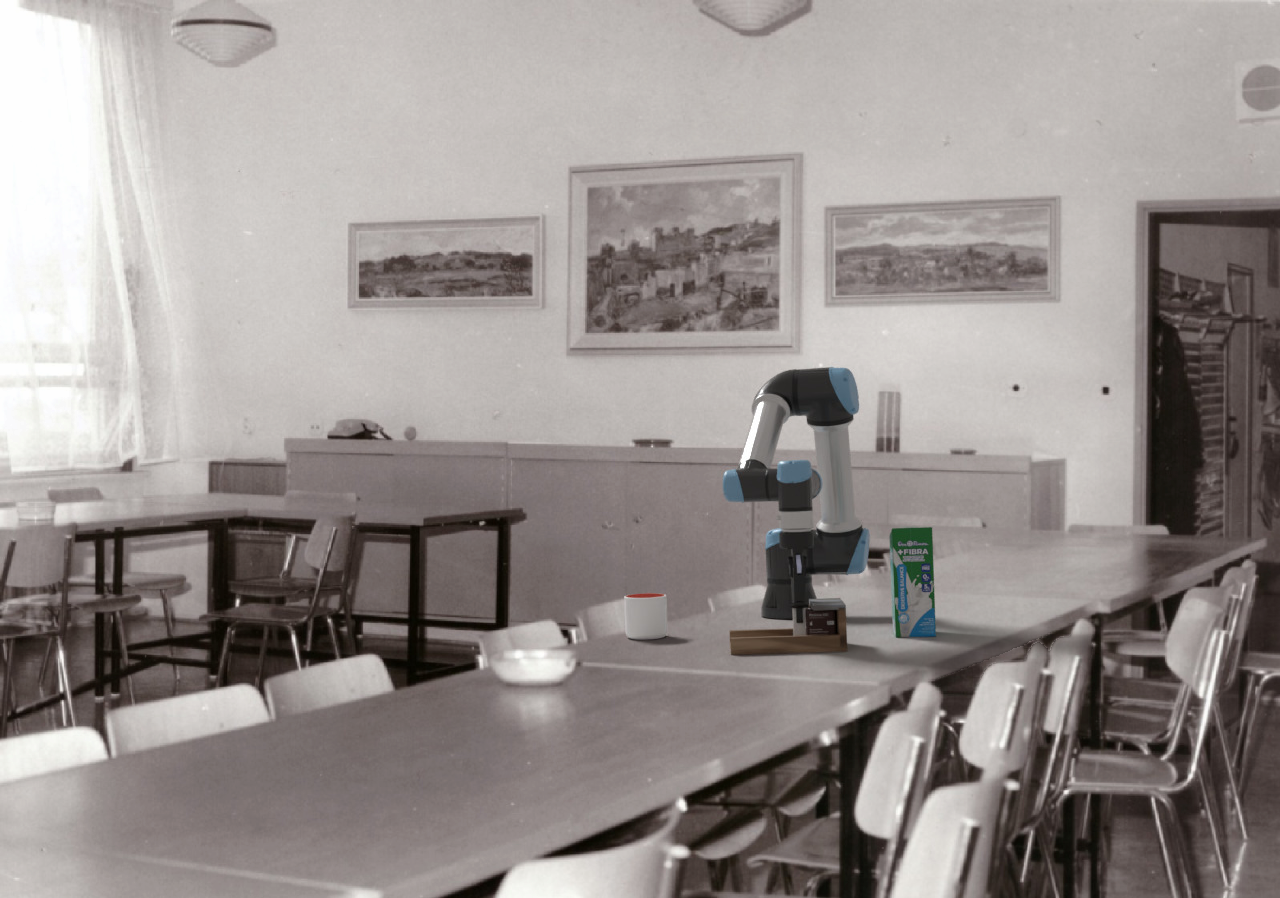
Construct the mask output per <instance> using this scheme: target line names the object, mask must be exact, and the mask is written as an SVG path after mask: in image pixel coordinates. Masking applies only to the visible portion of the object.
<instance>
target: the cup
mask: <svg viewBox="0 0 1280 898" xmlns="http://www.w3.org/2000/svg"><path fill="white" fill-rule="evenodd" d="M623 600H624V624H625V625H624V627H625V635H626V637H627V638H629V639H630V640H639V641H647V640H648V641H649V640H650V641H651V640H658V639H663V638H664V637H665V636H667V634H668V632H669V631H668V607H667V606H668V605H667V602H668V601H667V594H664V593H657V592H655V593H651V592H649V593H648V592H646V593H635V594H633V593H632V594H626V595H624V597H623Z"/></svg>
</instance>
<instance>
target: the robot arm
mask: <svg viewBox="0 0 1280 898" xmlns="http://www.w3.org/2000/svg"><path fill="white" fill-rule="evenodd" d="M858 391H859V390H858V385H857V382H856V378H855V376H854V374H853V372H852V371H851V370H850V369H849V368H847V367H834V366H829V367H815V368H801V369H788V370H784V371H781V372H780V373H778V374H776V375H774V376H772V378H770V379H769V380H767V381H766V382H765V383H764V384H763V385H762V386H761V387H760V389H758V391H757V393H756V394H755V396H754V398H753V401H752V404H751V415H752V418H751V421H750V425H749V429H748V432H747V435H746V438H745V442H744V444H743V447H742V451H741V454H740V455H741V456H740V459H739V460H738V465H737V467H736V468H733V469H728V470H727V469H726V470H725V472H724V473H723V477H722V492H723V496H724V498H725V500H726V501H727V502H730V503H742V504H744V503H760V502H761V503H762V502H765V503H766V502H778V503H777V504H778V514H779V515H776V517H775V519H776V520H777V521H778V526H779V527H778V528H773V529H770V530H768V531H767V533H766V534H765V547H764V549H765V562H766V565H765V566H766V590H765V592H764V595H763V600H762V604H761V607H760V608H761V609H760V610H761V611H760V613H761V617H762V618H767V619H780V620H781V619H783V620H787V619H788V620H791V619H792V628H793V636H800V635H806V615H805V609H806V608H809V599H818V597H817V594H816V592H815V589H814V587H813V576H814V575H815V576H817V575H819V576H820V575H823V576H824V575H833V576H834V575H835V576H838V575H839V576H842V575H843V576H849V575H860V574H862V573H864V571H865V569H866V568H867V565H868V558H869V551H870V538H871V537H870V529H868V528H866V527H863V522H862V519H860V518H859V517H858V516H857V515H856V510H855V509H856V508H855V507H856V506H855V495H854V482H853V469H852V461H851V459H852V458H851V447H850V438H849V437H850V434H849V426H850V425H851V423H853V421H854V419H855V418H854V415H856V414H858V412H859V410H860V401H859V398H860V397H859V392H858ZM795 416H796V417H798V416H799V417H800V416H801V417H806V424H807V426H809V427H810V428H811V429H812V430H813V437H814V447H815V461H816V469H814V468H812V465H811V461H810V460H808V459H791V460H780V461H779V462H778V463H777V467H776V468H772V463H773V461H774V458H775V457H774V456H775V453H776V450H777V446H778V444H779V439H780V436H781V432H782V428H783V425H784V424H785V423H787V421H788V420H789V418H791V417H795ZM818 495H819V503H820V504H819V505H820V513H821V514H820V516H821V518H820V519H819V520H818V522H817V523H816V524H815V525H814V510H813V509H814V508H813V500H814V498H816V497H817V496H818ZM814 526H815V527H816V529H813V528H814Z"/></svg>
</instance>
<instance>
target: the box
mask: <svg viewBox="0 0 1280 898" xmlns="http://www.w3.org/2000/svg"><path fill="white" fill-rule="evenodd" d="M805 615H806V635H833V634H835V629H834V611H833V610H817V611H813V609H812V608H806V609H805Z"/></svg>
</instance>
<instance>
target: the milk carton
mask: <svg viewBox="0 0 1280 898" xmlns="http://www.w3.org/2000/svg"><path fill="white" fill-rule="evenodd" d="M933 542H934V541H933V526H929V527H928V526H926V527H925V526H924V527H923V526H922V527H919V526H916V525H905V526H901V527H898V528H897V527H893V528H891V531H890V533H889V555H890V556H889V558H890V561H889V562H890V564H889V565H890V588H891V589H890V590H891V591H890V592H891V615H892V617H891V618H892V633H893V634H894V636H895V638H922V637H923V638H925V637H927V638H929V637H933V638H935V637H936V636H937V631H936V630H937V629H936V625H937V624H936V603H935V602H936V601H935V600H936V598H935V597H936V596H935V574H934V569H935V568H934V543H933Z"/></svg>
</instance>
